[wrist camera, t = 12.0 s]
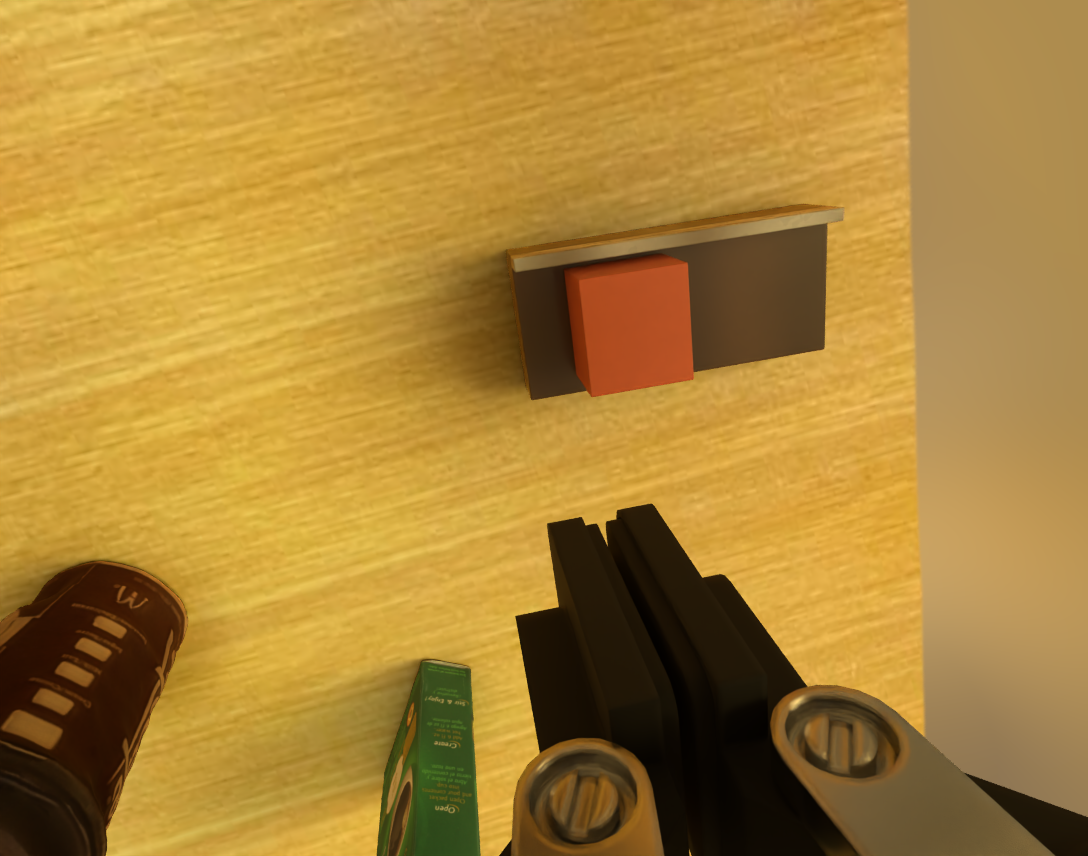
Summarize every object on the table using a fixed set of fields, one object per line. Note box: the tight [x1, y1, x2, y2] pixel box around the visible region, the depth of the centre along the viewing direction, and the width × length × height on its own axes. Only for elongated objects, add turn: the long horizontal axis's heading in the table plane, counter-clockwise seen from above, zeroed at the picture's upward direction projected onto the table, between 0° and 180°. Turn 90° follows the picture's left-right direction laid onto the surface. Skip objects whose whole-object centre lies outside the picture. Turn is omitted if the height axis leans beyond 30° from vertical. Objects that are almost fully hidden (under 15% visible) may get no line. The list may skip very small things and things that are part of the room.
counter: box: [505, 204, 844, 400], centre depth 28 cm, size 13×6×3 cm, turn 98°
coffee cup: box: [0, 561, 188, 856], centre depth 25 cm, size 9×8×13 cm
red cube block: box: [564, 253, 694, 397], centre depth 26 cm, size 4×4×3 cm
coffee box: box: [377, 660, 481, 856], centre depth 30 cm, size 8×3×13 cm, turn 161°
